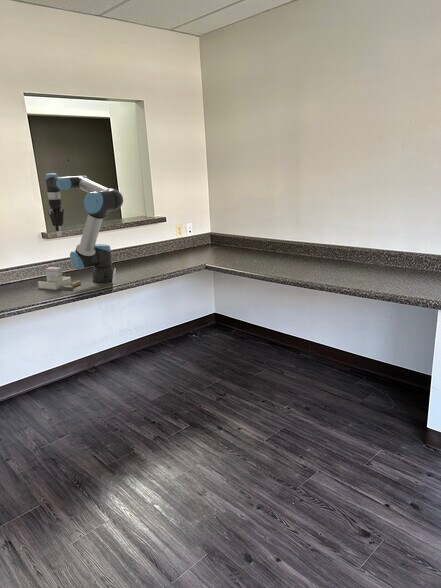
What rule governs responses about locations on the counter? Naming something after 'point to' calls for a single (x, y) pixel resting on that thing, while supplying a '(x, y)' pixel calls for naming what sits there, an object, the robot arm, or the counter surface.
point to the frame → (55, 285)
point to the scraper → (70, 286)
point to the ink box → (54, 274)
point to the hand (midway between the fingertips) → (59, 235)
